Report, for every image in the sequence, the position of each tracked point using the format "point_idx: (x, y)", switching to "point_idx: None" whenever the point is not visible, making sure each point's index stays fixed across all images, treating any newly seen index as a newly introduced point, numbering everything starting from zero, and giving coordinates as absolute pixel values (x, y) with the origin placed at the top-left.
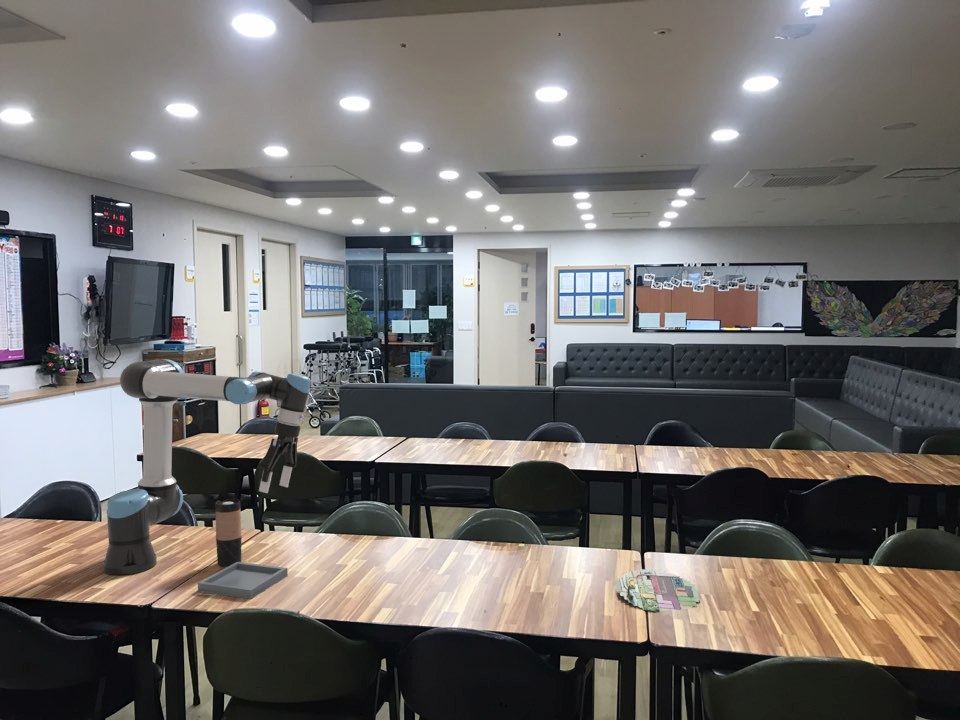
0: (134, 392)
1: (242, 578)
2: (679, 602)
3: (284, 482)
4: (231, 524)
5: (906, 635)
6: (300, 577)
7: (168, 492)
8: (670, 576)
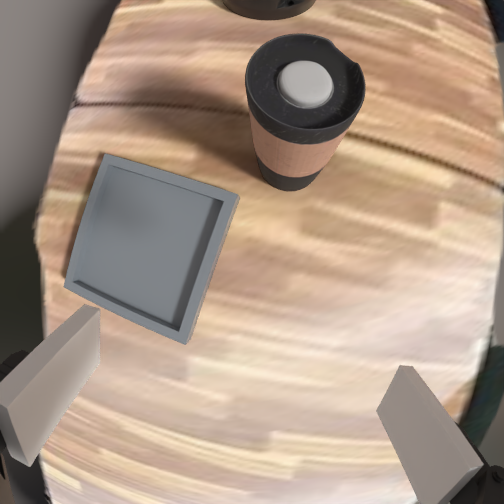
0: None
1: (154, 237)
2: None
3: (394, 410)
4: (257, 140)
5: None
6: (182, 369)
7: None
8: None
